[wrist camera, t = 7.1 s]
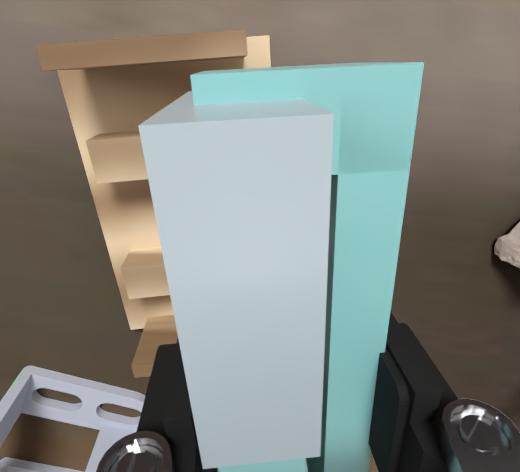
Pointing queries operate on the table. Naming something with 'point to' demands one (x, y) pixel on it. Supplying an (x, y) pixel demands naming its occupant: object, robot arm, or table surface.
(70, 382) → the bracket
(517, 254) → the concrete fragment
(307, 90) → the blocks in teal channel
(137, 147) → the cradle
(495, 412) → the robot arm
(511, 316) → the table surface
